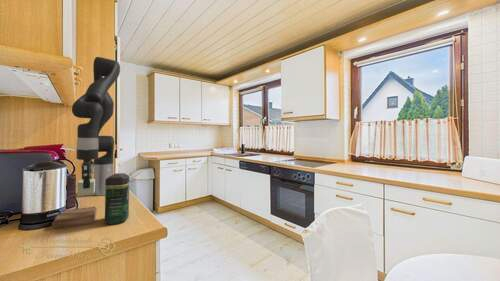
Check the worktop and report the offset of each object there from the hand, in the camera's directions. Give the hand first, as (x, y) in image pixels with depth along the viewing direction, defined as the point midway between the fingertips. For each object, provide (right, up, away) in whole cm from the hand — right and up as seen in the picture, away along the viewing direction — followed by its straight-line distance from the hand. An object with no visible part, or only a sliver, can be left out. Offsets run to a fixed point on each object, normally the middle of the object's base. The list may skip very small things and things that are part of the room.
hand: (87, 186), depth 91 cm
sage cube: (-1, -3, 0) cm, 3 cm away
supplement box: (-13, -11, +2) cm, 17 cm away
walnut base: (+3, -12, -9) cm, 15 cm away
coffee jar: (+18, -12, -8) cm, 23 cm away
